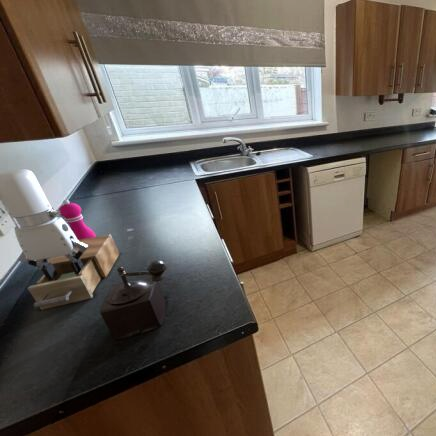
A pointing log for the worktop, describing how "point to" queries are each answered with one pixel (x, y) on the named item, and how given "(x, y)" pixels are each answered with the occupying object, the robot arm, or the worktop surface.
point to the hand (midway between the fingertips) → (66, 274)
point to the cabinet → (95, 253)
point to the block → (67, 275)
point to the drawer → (66, 285)
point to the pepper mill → (75, 220)
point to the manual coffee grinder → (135, 303)
